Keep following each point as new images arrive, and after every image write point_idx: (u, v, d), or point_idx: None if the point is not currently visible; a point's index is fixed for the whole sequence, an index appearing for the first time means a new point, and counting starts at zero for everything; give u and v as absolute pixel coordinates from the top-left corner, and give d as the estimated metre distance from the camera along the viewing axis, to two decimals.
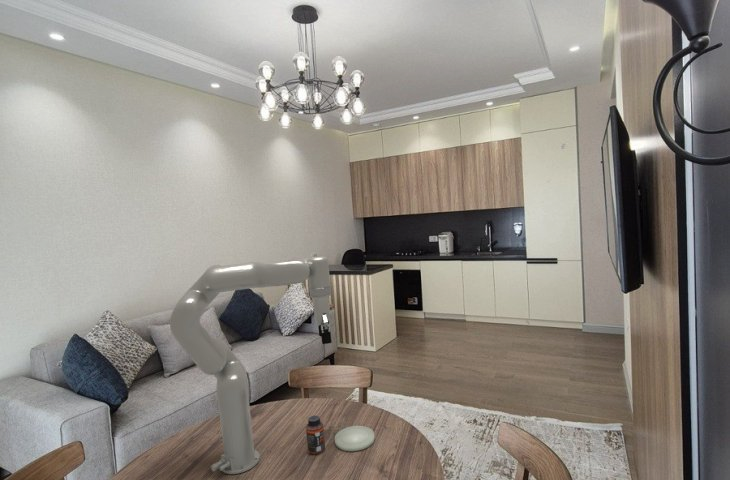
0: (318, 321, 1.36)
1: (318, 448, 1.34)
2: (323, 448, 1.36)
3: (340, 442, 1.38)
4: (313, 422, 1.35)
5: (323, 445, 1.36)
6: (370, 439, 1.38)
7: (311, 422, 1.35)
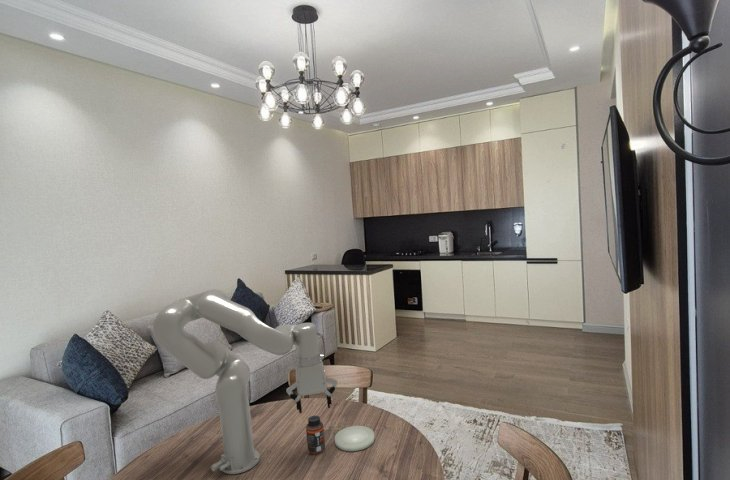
0: None
1: (318, 448, 1.34)
2: (323, 448, 1.36)
3: (340, 442, 1.38)
4: (313, 422, 1.35)
5: (323, 445, 1.36)
6: (370, 439, 1.38)
7: (311, 422, 1.35)
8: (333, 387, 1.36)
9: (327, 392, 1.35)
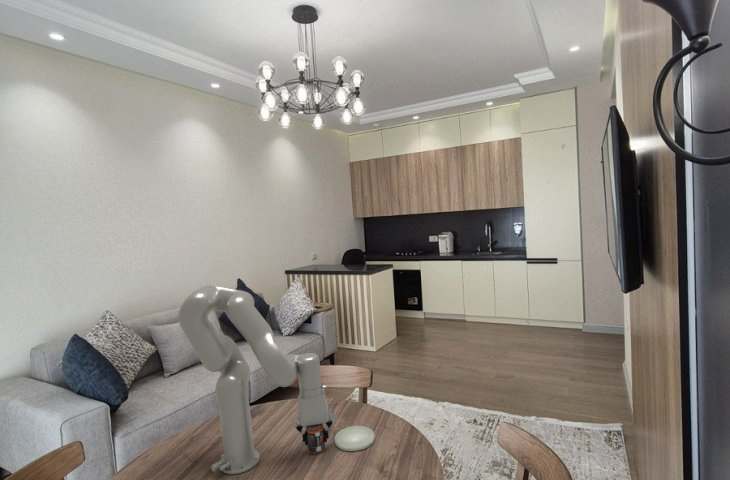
0: None
1: (318, 448, 1.34)
2: (323, 448, 1.36)
3: (340, 442, 1.38)
4: None
5: (323, 445, 1.36)
6: (370, 439, 1.38)
7: None
8: (331, 421, 1.37)
9: (325, 426, 1.36)
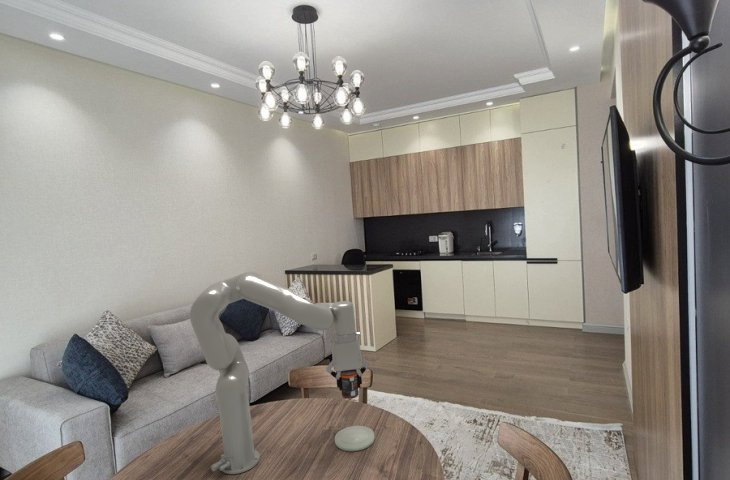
0: None
1: (352, 393, 1.37)
2: (357, 393, 1.39)
3: (340, 442, 1.38)
4: None
5: (357, 390, 1.39)
6: (370, 439, 1.38)
7: None
8: (364, 368, 1.40)
9: (359, 371, 1.39)
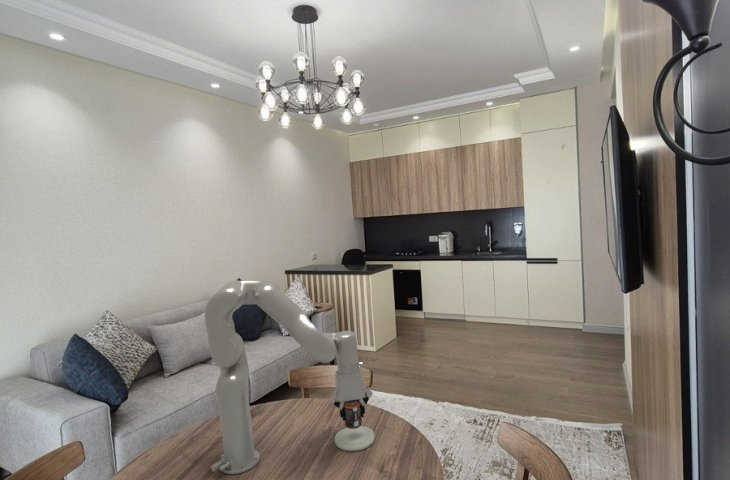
0: None
1: (355, 423, 1.38)
2: (360, 423, 1.39)
3: (340, 442, 1.38)
4: None
5: (360, 420, 1.39)
6: (370, 439, 1.38)
7: None
8: (367, 397, 1.40)
9: (362, 401, 1.39)
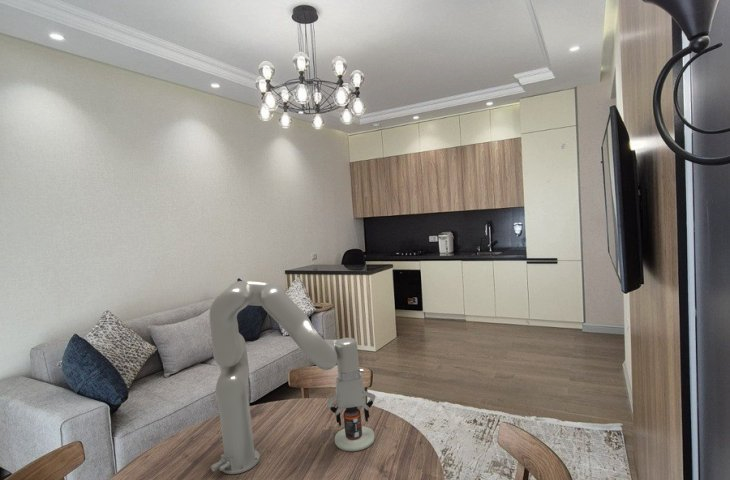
0: None
1: (355, 434, 1.38)
2: (360, 434, 1.39)
3: (340, 442, 1.38)
4: (351, 408, 1.38)
5: (360, 431, 1.39)
6: (370, 439, 1.38)
7: (349, 409, 1.38)
8: (371, 401, 1.40)
9: (365, 406, 1.40)
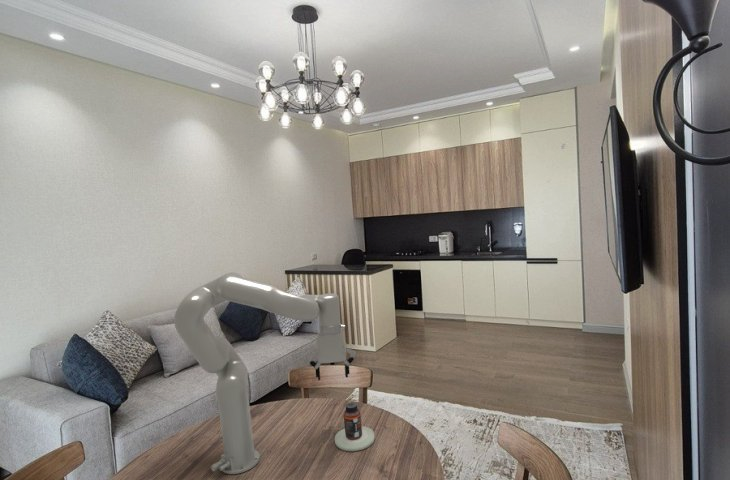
0: None
1: (355, 434, 1.38)
2: (360, 434, 1.39)
3: (340, 442, 1.38)
4: (351, 408, 1.38)
5: (360, 431, 1.39)
6: (370, 439, 1.38)
7: (349, 409, 1.38)
8: (352, 357, 1.40)
9: (346, 362, 1.39)
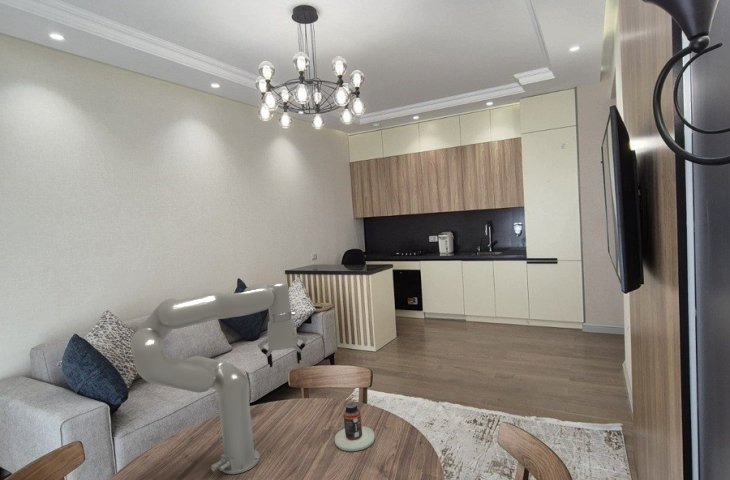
0: None
1: (355, 434, 1.38)
2: (360, 434, 1.39)
3: (340, 442, 1.38)
4: (351, 408, 1.38)
5: (360, 431, 1.39)
6: (370, 439, 1.38)
7: (349, 409, 1.38)
8: (303, 344, 1.43)
9: (297, 348, 1.42)
